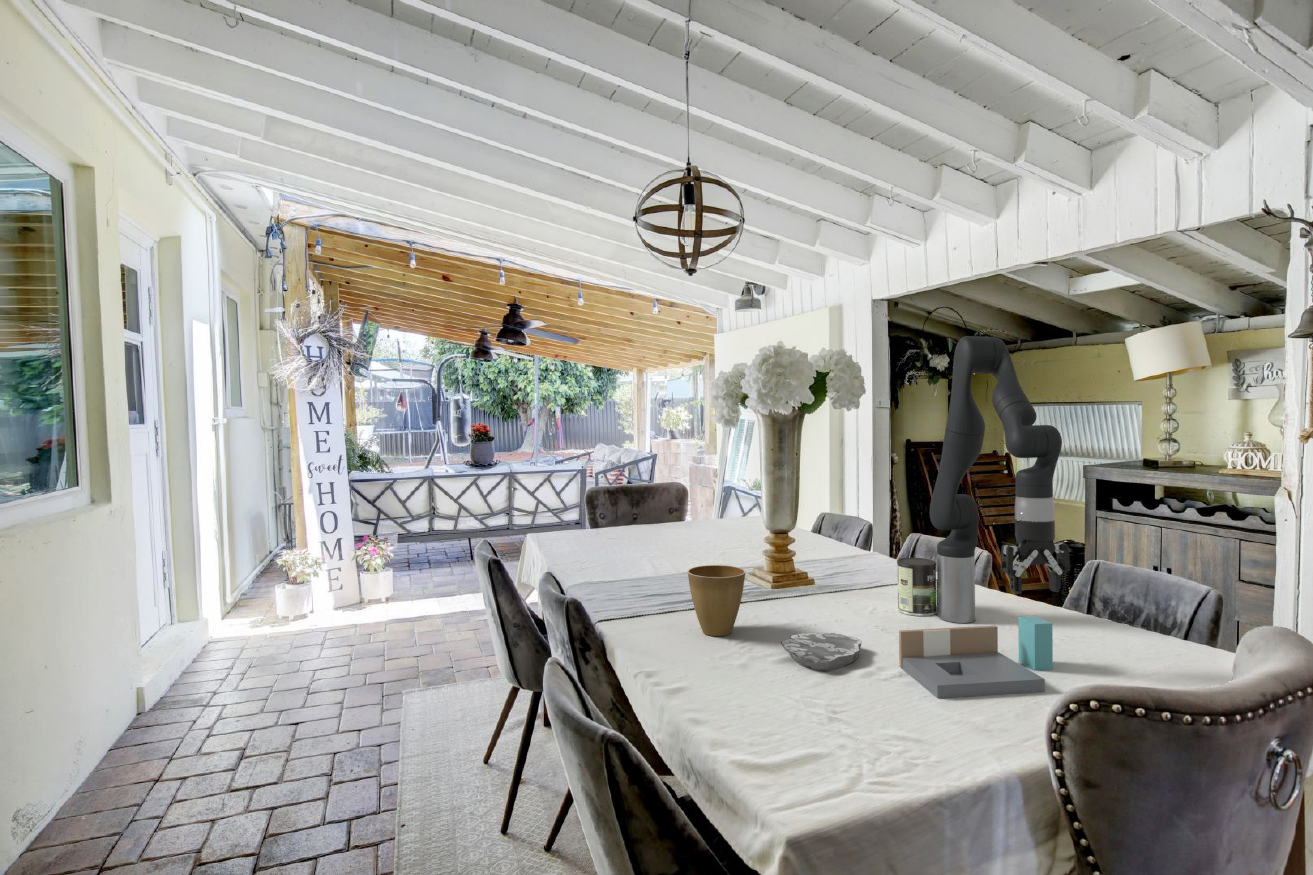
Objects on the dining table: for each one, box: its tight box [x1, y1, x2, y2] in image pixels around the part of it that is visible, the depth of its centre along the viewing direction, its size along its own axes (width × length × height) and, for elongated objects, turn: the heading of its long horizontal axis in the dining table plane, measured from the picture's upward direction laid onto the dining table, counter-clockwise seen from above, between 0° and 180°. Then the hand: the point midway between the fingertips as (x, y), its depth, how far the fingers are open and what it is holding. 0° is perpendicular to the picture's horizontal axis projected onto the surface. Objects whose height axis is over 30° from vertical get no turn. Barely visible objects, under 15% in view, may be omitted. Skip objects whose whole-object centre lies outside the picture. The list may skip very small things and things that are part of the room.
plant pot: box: [687, 564, 746, 637], centre depth 172 cm, size 15×15×16 cm
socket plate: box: [898, 625, 1046, 699], centre depth 138 cm, size 16×22×8 cm
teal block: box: [1017, 615, 1054, 672], centre depth 144 cm, size 6×4×10 cm
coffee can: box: [896, 557, 937, 617], centre depth 186 cm, size 10×10×14 cm
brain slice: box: [780, 632, 862, 672], centre depth 153 cm, size 20×17×3 cm
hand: (1035, 592), depth 144 cm, fingers open, 8 cm apart
